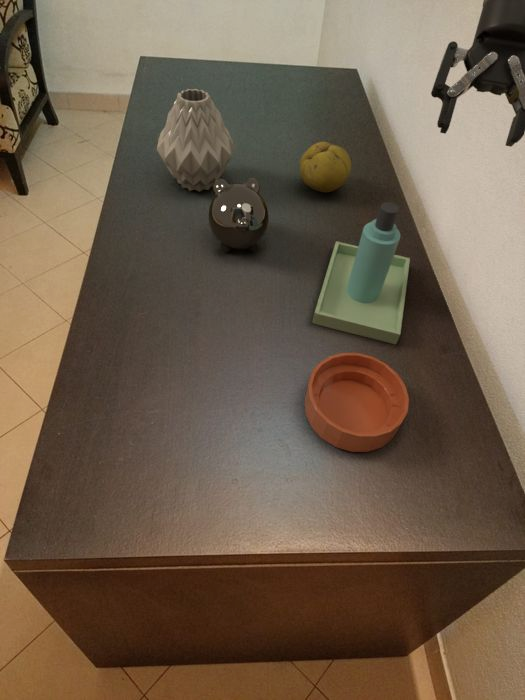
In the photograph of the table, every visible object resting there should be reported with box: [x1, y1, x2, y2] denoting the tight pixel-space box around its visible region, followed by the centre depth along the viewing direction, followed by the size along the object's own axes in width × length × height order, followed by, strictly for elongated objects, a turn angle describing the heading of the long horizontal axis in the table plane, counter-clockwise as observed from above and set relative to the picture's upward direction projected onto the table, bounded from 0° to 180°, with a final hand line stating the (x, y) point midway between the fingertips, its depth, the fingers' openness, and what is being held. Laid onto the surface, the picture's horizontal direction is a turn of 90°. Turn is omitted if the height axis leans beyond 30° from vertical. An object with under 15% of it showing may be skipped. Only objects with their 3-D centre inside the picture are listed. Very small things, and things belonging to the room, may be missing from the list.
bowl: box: [303, 352, 410, 453], centre depth 67 cm, size 14×14×5 cm
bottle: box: [347, 201, 401, 303], centre depth 78 cm, size 6×6×18 cm
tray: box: [311, 240, 411, 345], centre depth 84 cm, size 14×20×3 cm
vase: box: [156, 88, 236, 192], centre depth 98 cm, size 16×16×18 cm
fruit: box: [299, 141, 352, 193], centre depth 103 cm, size 11×12×10 cm
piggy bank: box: [208, 177, 270, 253], centre depth 88 cm, size 11×15×12 cm
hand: (477, 137), depth 61 cm, fingers open, 8 cm apart
